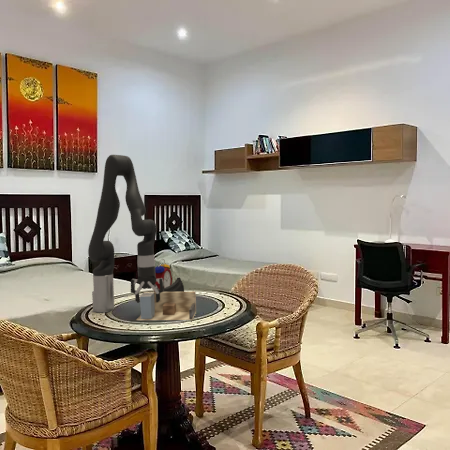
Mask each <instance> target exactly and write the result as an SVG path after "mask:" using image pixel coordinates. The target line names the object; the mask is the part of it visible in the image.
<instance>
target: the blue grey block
mask: <svg viewBox="0 0 450 450" xmlns="http://www.w3.org/2000/svg"><path fill="white" fill-rule="evenodd" d="M139 296H140V302H139V303H140V304H139V305H140V315H141V319H152V317H153V316H154V315H155V306H154V293H143V292H142V294H139Z"/></svg>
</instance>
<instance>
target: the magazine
mask: <svg viewBox="0 0 450 450" xmlns="http://www.w3.org/2000/svg"><path fill="white" fill-rule="evenodd" d="M163 292H185V286H184V282H183V281H182V278H181V277H176V279H175V280H174V281H173V282H172V285H170V286H168V287H166V288H164V291H163Z"/></svg>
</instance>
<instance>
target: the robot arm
mask: <svg viewBox="0 0 450 450" xmlns="http://www.w3.org/2000/svg"><path fill="white" fill-rule="evenodd" d="M135 171H136V170H135V167H134V164H133V160H132V159H131V158H130V157H129V156H127V155H122V154H110V155H108V156H107V158H106V160H105V164H104V172H103V181H102V183H103V184H102V189H101V195H100V199H99V203H98V207H97V215H96V219H95V224H94V229H93V232H92V235H91V238H90V240H89V244H88V249H87V250H88V251H87V254H88V258H89V260H91V261H92V262H100V263H99V265H97V266H96V267H94V269H93V270H92V277H93V278H92V279H93V280H92V282H93V283H92V284H93V291H92V294H91V296H92V297H91V299H92V312H93V313H109V312H110V313H111V312H112V311H113V310H114V309H115V293H114V291H115V290H114V289H115V288H114V269H115V247H114V244H113V243H112V242H111V241H110V240H105V237H106V235H107V234H108V232H109V231H110V229H111V228H112V226H113V225H114V224H115V222H116V221H117V219H118V216H119V213H120V207H121V201H120V199H119V195H118V193H117V189H116V182H117V177H119V176H120V177H121V176H122V177H123V179H124V181H125V183H126V192H125V196H124V197H125V204H126V206H127V209H128V212H129V213H130V214H129V215H130V223H131V229H132V232H133V234H134V235H135V236H137V237H143V240H141V241H139V242H137V245H136V249H137V251H136V252H137V260H136V262H137V279H136V278H132V279H130V294H134V298H135V302H136V304H137V303H138V304H139V303H140V291H141V290H142V289H143V290H146V289H148V290H150V289H152V290H153V292H154V291H155V292H156V293H157V294H156V302H159V301H160V293H161V292H163V291H164V283H163V278H160V279H156V275H155V267H156V259H155V252H154V251H155V250H154V248H155V247H154V245H155V241H156V240H155V239H156V235H157V229H158V227H157V223H156V222H155V221H154V220H153V219H147V218H146V219H143V218H142V217H143V216H144V215H146V214H147V210H146V209H147V208H146V206H145V204H144V203H145V202H143V198H142V196H141V193H140V190H139V186H138V181H137V176H136V172H135ZM156 282H158V283H159V284H160V290H159V289H158V288H157V286H156V285H155V283H156ZM137 284H138V287H137V289H136V285H137Z"/></svg>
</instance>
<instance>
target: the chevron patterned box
mask: <svg viewBox="0 0 450 450" xmlns="http://www.w3.org/2000/svg"><path fill="white" fill-rule="evenodd" d="M143 293H154V306H155V315H154V316H153V317H152V319H141V314H140V315H139V316H138V317H137V318H136V319H135V321H190V322H191V323H192V322H193V321H194V319H193V318H195V317H194V316H196V315H195V314H197V300H196V299H197V297H196V296H197V294H196V293H197V292H196V291H184V292H161V293H160V301H159V302H156V294H157V293H156V292H154V291H144V292H142V294H143ZM192 320H193V321H192Z"/></svg>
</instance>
